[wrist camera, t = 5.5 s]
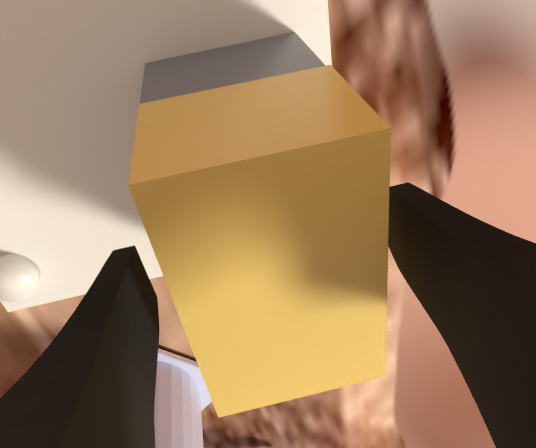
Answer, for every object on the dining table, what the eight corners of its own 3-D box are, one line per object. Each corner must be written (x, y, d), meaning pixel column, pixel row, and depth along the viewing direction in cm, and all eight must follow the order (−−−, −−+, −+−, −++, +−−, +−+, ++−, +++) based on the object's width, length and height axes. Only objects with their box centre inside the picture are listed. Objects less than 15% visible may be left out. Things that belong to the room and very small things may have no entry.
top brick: (343, 283, 17) (384, 376, 13) (208, 315, 16) (218, 417, 13) (330, 64, 12) (390, 128, 9) (138, 103, 12) (127, 184, 8)
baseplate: (336, 221, 21) (347, 243, 20) (14, 295, 21) (3, 324, 19) (277, -555, 9) (296, -632, 8) (-505, -445, 8) (-632, -508, 7)
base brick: (315, 222, 20) (344, 285, 17) (203, 248, 20) (209, 317, 16) (294, 31, 15) (329, 69, 12) (144, 62, 15) (138, 109, 12)
